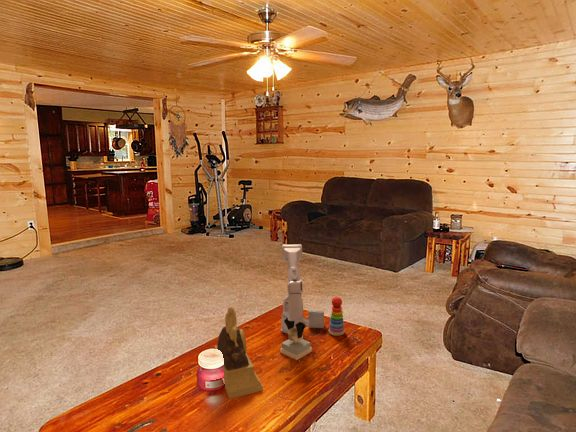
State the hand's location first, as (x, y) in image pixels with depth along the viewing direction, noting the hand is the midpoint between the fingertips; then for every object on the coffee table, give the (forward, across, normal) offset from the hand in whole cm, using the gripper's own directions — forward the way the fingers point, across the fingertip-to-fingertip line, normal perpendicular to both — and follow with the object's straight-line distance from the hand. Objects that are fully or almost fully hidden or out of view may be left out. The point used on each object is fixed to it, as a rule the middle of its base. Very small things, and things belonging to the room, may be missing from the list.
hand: (295, 335), depth 174 cm
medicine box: (+8, -9, +26) cm, 29 cm away
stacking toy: (+8, +3, +27) cm, 28 cm away
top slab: (+6, 0, 0) cm, 6 cm away
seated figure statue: (+8, -6, -29) cm, 31 cm away
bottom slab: (+8, 0, 0) cm, 8 cm away
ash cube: (+2, 0, 0) cm, 2 cm away
